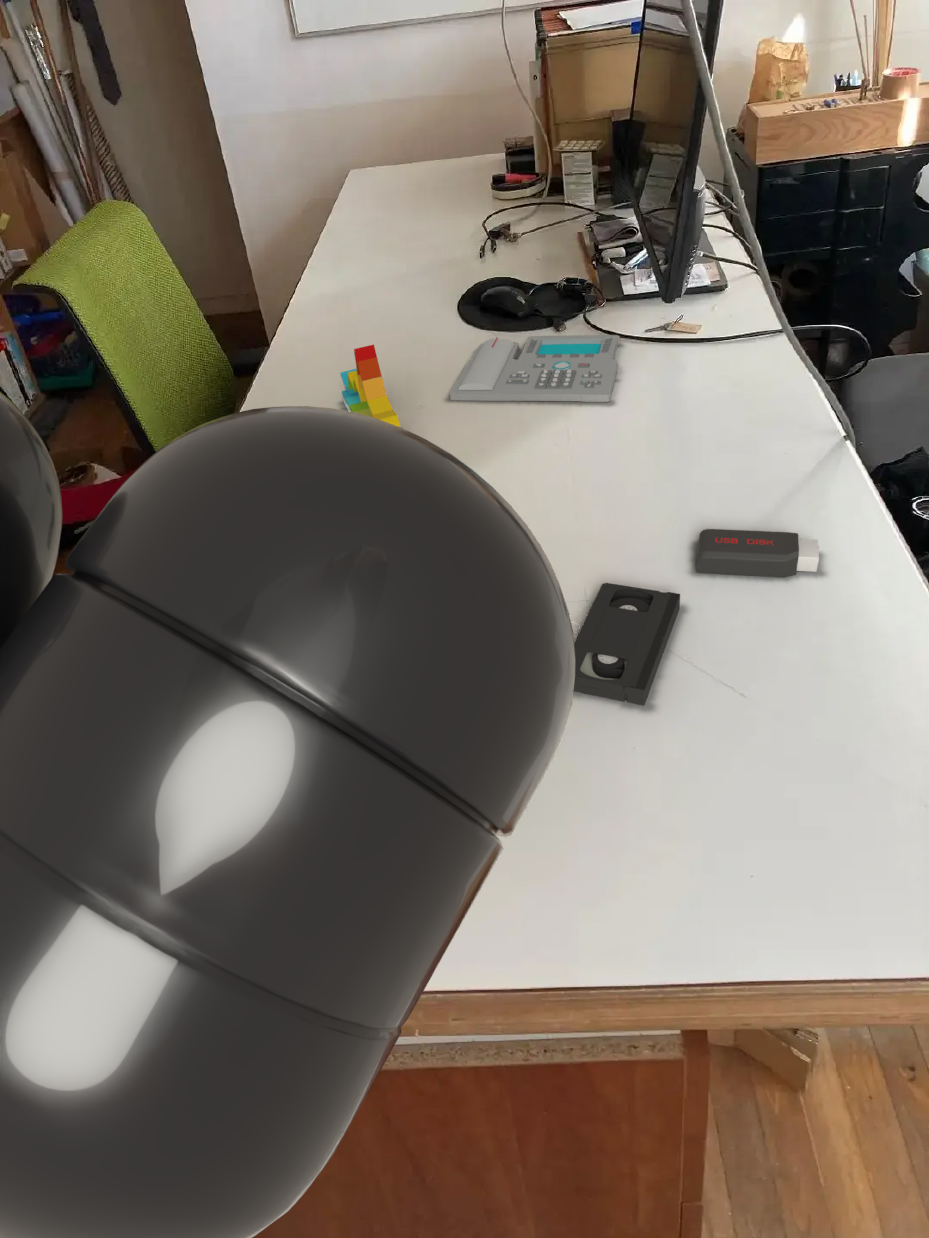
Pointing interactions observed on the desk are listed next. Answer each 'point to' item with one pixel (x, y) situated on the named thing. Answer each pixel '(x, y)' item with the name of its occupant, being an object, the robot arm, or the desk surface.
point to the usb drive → (755, 553)
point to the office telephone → (541, 370)
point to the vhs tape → (623, 642)
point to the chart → (367, 388)
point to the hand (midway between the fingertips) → (265, 771)
